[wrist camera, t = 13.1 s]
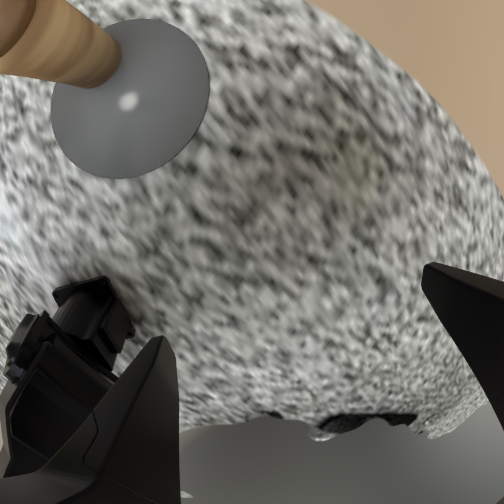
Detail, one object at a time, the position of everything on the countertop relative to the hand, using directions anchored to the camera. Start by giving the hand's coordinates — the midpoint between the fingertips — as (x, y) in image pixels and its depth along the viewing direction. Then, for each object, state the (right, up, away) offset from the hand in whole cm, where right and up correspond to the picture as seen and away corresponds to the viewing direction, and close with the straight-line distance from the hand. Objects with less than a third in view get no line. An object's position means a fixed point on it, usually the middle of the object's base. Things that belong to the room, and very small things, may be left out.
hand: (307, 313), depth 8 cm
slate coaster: (-11, +13, +7) cm, 18 cm away
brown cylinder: (-13, +15, +5) cm, 20 cm away
